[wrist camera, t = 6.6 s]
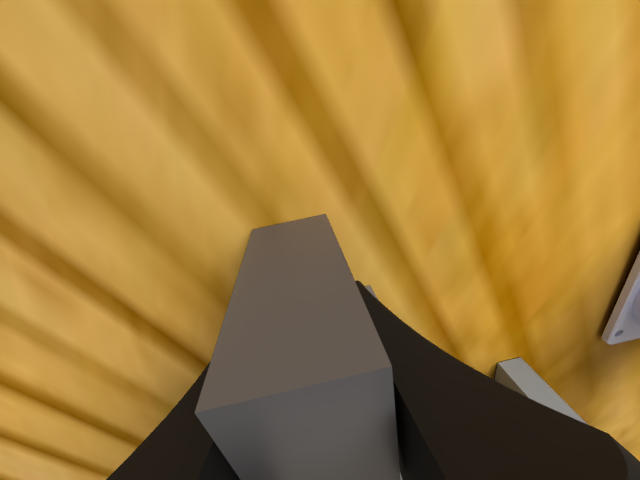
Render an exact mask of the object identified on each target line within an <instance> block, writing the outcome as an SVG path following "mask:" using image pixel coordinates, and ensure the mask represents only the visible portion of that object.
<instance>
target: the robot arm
mask: <svg viewBox="0 0 640 480" xmlns="http://www.w3.org/2000/svg"><path fill="white" fill-rule="evenodd" d="M355 282H356V285H357V287H358V289H359V292H360V294H361V296H362V298H363V301H364V303H365V305H366V308H367V310H368V312H369V314H370V317H371V319H372V321H373V324H374V326H375V328H376V331H377V333H378V335H379V337H380V340H381V342H382V344H383V347H384V349H385V351H386V354H387V356H388V358H389V360H390V363H391V365H392V373H393V386H394V400H395V413H396V426H397V440H398V453H399V466H400V473H401V477H402V480H640V462H639V461H638V460H637V459H636V458H635V457H634V456H633V455H632V454H631V453H630V452H628V451H627V450H626V449H625V448H624V447H623V446H622V445H620V444H619V443H618V442H617V441H616V440H615V439H614V438H613V437H611V436H610V435H609V434H608V433H605V432H603V431H601V430H599V429H596V428H594V427H592V426H590V425H587V424H585V423H583V422H581V421H578V420H576V419H574V418H572V417H569V416H567V415H565V414H563V413H560V412H558V411H556V410H554V409H551V408H549V407H547V406H545V405H542V404H540V403H538V402H536V401H534V400H532V399H530V398H528V397H526V396H524V395H522V394H520V393H518V392H516V391H514V390H512V389H510V388H508V387H506V386H504V385H502V384H500V383H498V382H497V381H495V380H493V379H491V378H489V377H488V376H486V375H484V374H482V373H480V372H479V371H477V370H475V369H473V368H471V367H470V366H468V365H466V364H464V363H463V362H461V361H459V360H458V359H456V358H454V357H453V356H451V355H450V354H448V353H446V352H445V351H443V350H442V349H440V348H439V347H437V346H436V345H434V344H433V343H431V342H430V341H428V340H427V339H425V338H424V337H423V336H421V335H420V334H419V333H417V332H416V331H414V330H413V329H412V328H411V327H409V326H408V325H407V324H405V323H404V322H403V321H402V320H400V319H399V318H398V317H397V316H396V315H394V314H393V313H392V312H391V311H390V310H389V309H388V308H386V307H385V306H384V305H383V304H382V303H381V302H380V301H379V300H378V299H377V298H375V297H374V296H373V295H372V294H371V293H370V292H369V291H368V290H367V289H366V287H365V286H364V285H363V284H362V283H361V282H360V281H355ZM638 338H640V251H639V253H638V256H637V258H636V260H635V262H634V265H633V267H632V269H631V271H630V274H629V276H628V278H627V280H626V283H625V285H624V287H623V289H622V292H621V294H620V296H619V298H618V301H617V303H616V305H615V307H614V310H613V312H612V314H611V316H610V319H609V321H608V323H607V325H606V328H605V330H604V332H603V334H602V340H603V341H604V342H606V343H607V344H609V345H613V344H618V343H622V342H626V341H630V340H634V339H638ZM210 362H211V361H210ZM209 365H210V363H209V364H208V365H207V367H206V368H205V370H204V371H203V372H202V374H201V375H200V376H199V378H198V379H197V380H196V382H195V383H194V384H193V386H192V387H191V388H190V389H189V391H188V392H187V393H186V394H185V395H184V397H183V398H182V399H181V400H180V401H179V403H178V404H177V405H176V406H175V407H174V408H173V410H172V411H171V412H170V413H169V414H168V415H167V417H166V418H165V419H164V420H163V421H162V422H161V423H160V424H159V425H158V426H157V427H156V429H155V430H154V431H153V432H152V433H151V434H150V435H149V436H148V437H147V438H146V439H145V440H144V441H143V442H142V444H141V445H140V446H139V447H138V448H137V449H136V450H135V451H134V452H133V453H132V454H131V455H130V456H129V457H128V458H127V459H126V460H125V461H124V462H123V463H122V464H121V465H120V466H119V467H118V468H117V469H116V470H115V471H114V472H113V473H112V474H111V475H110V476H109V477H108V478H107V479H106V480H240V478H239V477H238V475H237V474H236V473H235V471H234V470H233V468H232V467H231V465H230V464H229V462H228V461H227V459H226V458H225V457H224V455H223V454H222V452H221V451H220V449H219V448H218V446H217V445H216V443H215V442H214V441H213V439H212V438H211V436H210V435H209V433H208V432H207V430H206V429H205V427H204V426H203V425H202V423H201V422H200V420H199V419H198V417H197V416H196V414H195V410H196V406H197V403H198V400H199V397H200V394H201V391H202V387H203V384H204V381H205V378H206V375H207V372H208V368H209Z"/></svg>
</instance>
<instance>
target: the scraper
mask: <svg viewBox="0 0 640 480" xmlns="http://www.w3.org/2000/svg"><path fill="white" fill-rule="evenodd" d="M365 287H366V289H367V290H368V291H369V292H370V293H371V294H372V295H373V296H374V297H375V298H377V297H376V295H375V293H374V291H373V289H372V287H371V285H370V286H365ZM195 414H196V416H197V417H198V419H199V420H200V422H201V423H202V425H203V426H204V427H205V429H206V430H207V432H208V433H209V435H210V436H211V438H212V439H213V441H214V442H215V443H216V445H217V446H218V448H219V449H220V451H221V452H222V454H223V455H224V457H225V458H226V459H227V461H228V462H229V464H230V465H231V467H232V468H233V470H234V471H235V473H236V474H237V475H238V477H239V478H240V480H400V466H399V453H398V440H397V426H396V413H395V400H394V386H393V373H392V365H391V363H390V360H389V358H388V356H387V354H386V351H385V349H384V347H383V344H382V342H381V340H380V337H379V335H378V333H377V331H376V328H375V326H374V324H373V321H372V319H371V317H370V314H369V312H368V310H367V308H366V305H365V303H364V301H363V298H362V296H361V294H360V292H359V289H358V287H357V285H356V282H355V280H354V278H353V275H352V273H351V271H350V269H349V266H348V264H347V262H346V259H345V257H344V255H343V252H342V250H341V248H340V246H339V243H338V241H337V239H336V236H335V234H334V232H333V229H332V227H331V225H330V223H329V220H328V218H327V216H326V214H323V215H318V216H314V217H309V218H304V219H300V220H295V221H290V222H285V223H281V224H276V225H271V226H267V227H262V228H257V229H253V230H252V232H251V236H250V239H249V242H248V245H247V248H246V251H245V255H244V258H243V261H242V264H241V267H240V270H239V274H238V277H237V280H236V283H235V286H234V289H233V293H232V296H231V299H230V302H229V305H228V308H227V311H226V315H225V318H224V321H223V324H222V327H221V330H220V334H219V337H218V340H217V343H216V346H215V349H214V353H213V356H212V359H211V362H210V365H209V368H208V372H207V375H206V378H205V381H204V384H203V387H202V391H201V394H200V397H199V400H198V403H197V406H196V410H195Z"/></svg>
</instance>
